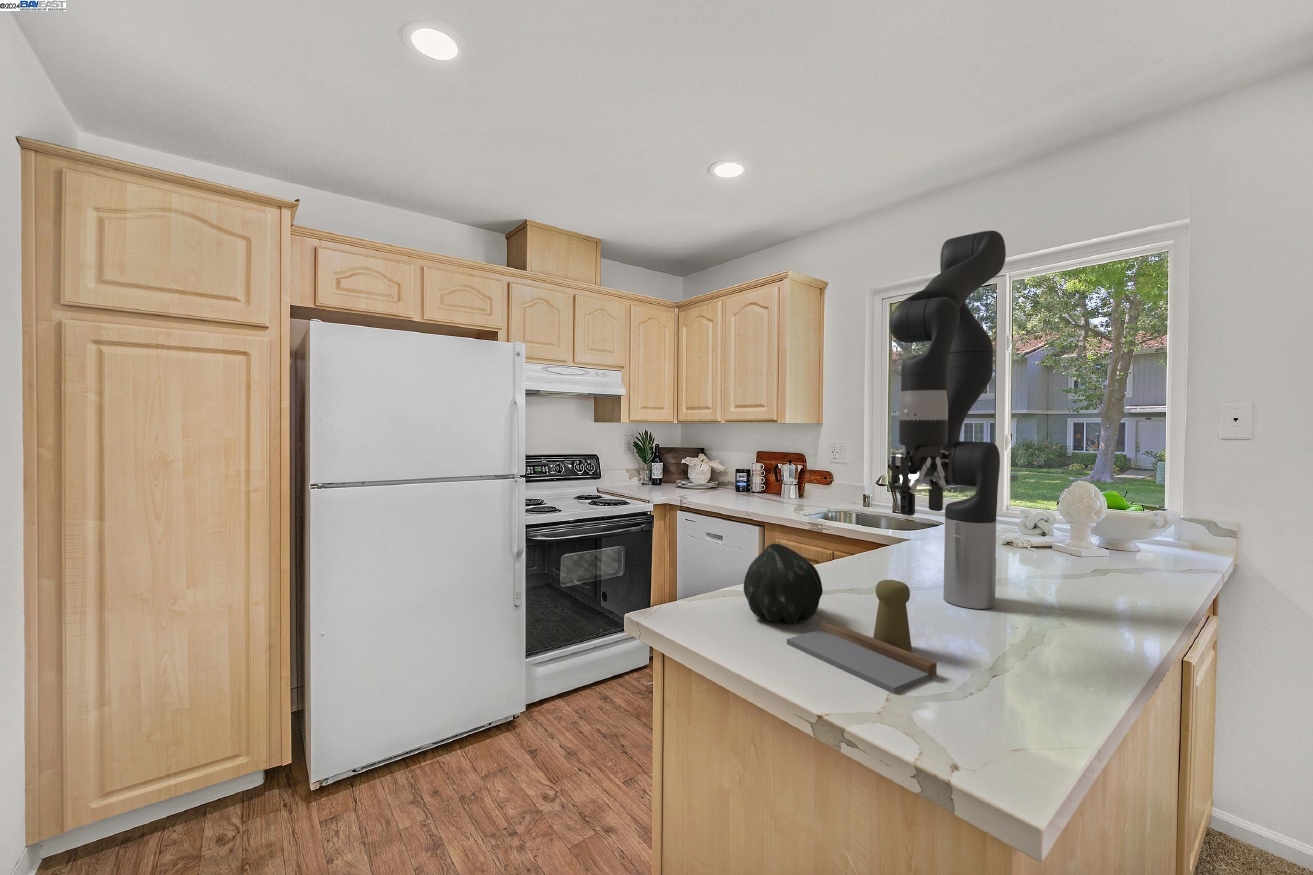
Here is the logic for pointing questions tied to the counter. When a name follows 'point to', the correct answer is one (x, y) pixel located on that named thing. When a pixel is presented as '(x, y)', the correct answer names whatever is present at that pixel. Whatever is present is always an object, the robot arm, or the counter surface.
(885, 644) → the walnut rail
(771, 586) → the squash
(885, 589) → the olive pawn-shaped piece
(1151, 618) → the counter surface
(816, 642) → the slate mat
